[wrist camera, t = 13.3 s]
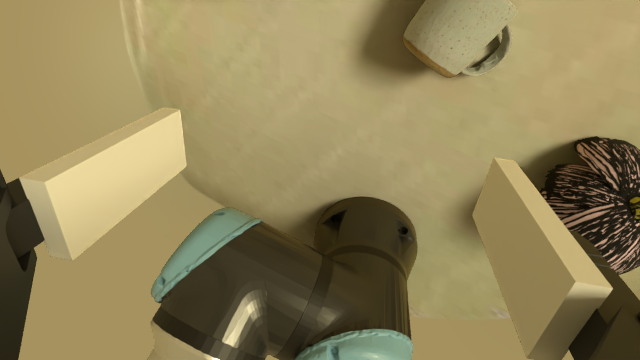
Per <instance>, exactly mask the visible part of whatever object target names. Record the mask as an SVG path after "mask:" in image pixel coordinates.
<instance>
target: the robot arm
mask: <svg viewBox="0 0 640 360" xmlns="http://www.w3.org/2000/svg"><path fill="white" fill-rule="evenodd" d="M186 166H187V165H186V157H185V148H184V139H183V131H182V122H181V113H180V110H179V109H172V108H166V107H163V108H161V109H159V110H157V111H155V112H153V113H151V114H149V115H147V116H145V117H142V118H140V119H138V120H136V121H134V122H132V123H130V124H128V125H126V126H124V127H122V128H120V129H118V130H116V131H114V132H112V133H110V134H108V135H105V136H103V137H101V138H99V139H97V140H95V141H93V142H91V143H89V144H87V145H85V146H83V147H81V148H79V149H77V150H75V151H72V152H71V153H68V154H66V155H64V156H62V157H60V158H58V159H56V160H54V161H52V162H50V163H48V164H46V165H44V166H42V167H39V168H37V169H35V170H33V171H32V172H29V173H27V174H25V175H23V176H21V177H19V178H18V179H16V180H14V181H12V182H10V183H7V184H6V182H5V179H4V177H3V175H2V172H1V170H0V360H18V357H19V352H20V347H21V342H22V336H23V331H24V325H25V320H26V314H27V309H28V304H29V298H30V293H31V288H32V282H33V277H34V272H35V266H36V261H37V257H36V253H35V250H34V247H35V246H37V245H38V244H40V243H41V242H43V241H44V242H45V244H46V247H47V249H48V252H49V255H50V256H52V257H57V258H61V259H66V260H71V261H73V260H74V259H75V258H77V257H78V256H79V255H80V254H82V252H84V251H85V250H86V249H88V248H89V247H90V246H91V245H92V244H94V243H95V242H96V241H97V240H98V239H100V238H101V237H102V236H103V235H104V234H106V233H107V232H108V231H109V230H110V229H112V228H113V227H114V226H115V225H116V224H117V223H119V222H120V221H121V220H122V219H124V218H125V217H126V216H127V215H128V214H130V213H131V212H132V211H133V210H134V209H136V208H137V207H138V206H139V205H140V204H141V203H143V202H144V201H145V200H147V199H148V198H149V197H150V196H151V195H152V194H154V193H155V192H156V191H157V190H158V189H160V188H161V187H162V186H163V185H165V184H166V183H167V182H168V181H169V180H170V179H172V178H173V177H174V176H175V175H176V174H178V173H179V172H180V171H181V170H183V169H184V168H185V167H186ZM472 216H473V219H474V222H475V224H476V227H477V230H478V232H479V235H480V237H481V240H482V243H483V245H484V248H485V250H486V253H487V256H488V258H489V261H490V264H491V266H492V269H493V271H494V274H495V277H496V279H497V282H498V284H499V287H500V290H501V292H502V295H503V298H504V300H505V303H506V305H507V308H508V311H509V313H510V316H511V318H512V321H513V324H514V326H515V329H516V332H517V334H518V337H519V339H520V342H521V345H522V347H523V350H524V352H525V355H526V357H527V358H529V359H534V360H562V358H563V357H564V355H565V354H566V353H567V351H568V350H569V351H570V352H571V354H572V356H573V358H574V360H640V300H639V299H638V298H637V297H636V296H635V294H634V293H633V292H632V291H631V290H630V288H629V287H628V286H627V285H626V284H625V282H624V281H623V280H622V279H621V278H620V276H619V275H618V274H617V273H616V271H615V270H614V269H611V265H610V264H609V263H608V262H607V261H606V259H605V258H602V257H603V256H602V255H601V253H600V252H599V251H598V250H597V249H596V247H595V246H594V245H593V244H592V243H591V242H590V241H588V240H587V239H586V238H584V237H583V236H581V235H580V234H579V233H577V232H575V231H569V230H568V229H567V228H566V227H565V225H564V224H563V223H562V221H561V220H560V219H559V218H558V216H557V215H556V214H555V212H554V211H553V210H552V209H551V207H550V206H549V205H548V203H547V202H546V201H545V199H544V198H543V197H542V196H541V194H540V193H539V192H538V190H537V189H536V188H535V187H534V185H533V184H532V183H531V181H530V180H529V179H528V177H527V176H526V175H525V174H524V172H523V171H522V170H521V168H520V167H519V166H518V164H517V163H516V162H515V161H514V160H507V159H501V158H494V159H493V162H492V164H491V167H490V169H489V172H488V175H487V177H486V180H485V182H484V185H483V188H482V190H481V193H480V196H479V198H478V201H477V203H476V206H475V209H474V211H473V214H472ZM416 256H417V238H416V232H415V229H414V226H413V224H412V223H411V221H410V219H409V218H408V217H407V216H406V215H405V214H404V213H403V212H402V211H401V210H400V209H399V208H397V207H396V206H394V205H392V204H390V203H388V202H386V201H383V200H380V199H376V198H369V197H356V198H350V199H346V200H343V201H340V202H338V203H336V204H334V205H333V206H331V207H330V208H329V209H328V210H327V211H326V212H325V213H324V214H323V215H322V217H321V218H320V220H319V223H318V225H317V229H316V232H315V236H314V249H313V248H311V247H309V246H307V245H305V244H303V243H302V242H300V241H298V240H296V239H294V238H292V237H290V236H288V235H286V234H285V233H283V232H281V231H279V230H277V229H275V228H273V227H271V226H269V225H268V224H266V223H264V220H262V219H260V218H258V219H256V218H254V217H252V216H249V215H247V214H245V213H243V212H241V211H239V210H236V209H234V208H222V209H219V210H217V211H215V212H213V213H212V214H210V215H209V216H208V217H207V218H205V219H204V220H203V221H202V222H201V223H200V224H199V225H198V226H197V227H196V228H195V229H194V230H193V231H192V232H191V233H190V234H189V235H188V236H187V238H186V239H185V240H184V241H183V242H182V243H181V245H180V246H179V247H178V248H177V249H176V251H175V252H174V253H173V255H172V256H171V257H170V259H169V260H168V261H167V263H166V264H165V266H164V267H163V269H162V271H161V274H160V275H159V276H158V278H157V279H156V280H155V282H154V284H153V286H152V289H151V295H152V297H153V298H154V299H155V301H156V302H157V303H161V306H160V308H159V309H158V311H157V313H156V314H155V316H154V317H153V319H152V321H151V328H152V332H153V337H154V349H153V350H152V352H151V354H150V355H149V357H148V359H147V360H265V358H266V357H267V355H271V356H273V357H275V358H277V359H279V360H412V353H413V345H412V342H411V330H410V319H409V305H408V291H407V279H408V277H409V274H410V272H411V270H412V267H413V265H414V262H415V260H416Z"/></svg>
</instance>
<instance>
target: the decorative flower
mask: <svg viewBox="0 0 640 360" xmlns="http://www.w3.org/2000/svg"><path fill="white" fill-rule="evenodd" d="M574 148H575V150H576V151H577V153H578V155H579V156H580V158H582V159H583V160H584V161H585V162H586V163H587V164H588V166H584V165H573V164H562V165H556V166H555V169H552V170H550V171H548V172H550V173H549V174H548V175H547V176H545V177H548V178H547V180H546V182H545V188H542V189H541V191H540V192H539V193H540V194H541V196H542V197H543V198H544V199H545V201H546V202H547V203H548V205H549V206H550V207H551V209H552V210H553V211H554V212H555V214H556V215H557V216H558V218H559V219H560V220H561V221H562V223H563V224H564V225H565V227H566V228H567V229H568V230H569V231H575V232H577V233H579V234H580V235H581V236H583V237H584V238H586V239H587V240H588V241H590V242H591V243H592V244H593V245H594V246H595V247H596V249H597V250H598V251H599V252H600V253H601V255H602V256H603V257H602V258H605V259H606V261H607V262H608V263H609V264H610V265H611V269H614V270H615V271H616V273H617V274H618V275H620V274H624V273H626V272H629V271H631V270H633V269H635V268H637V267H639V266H640V150H639V149H638V148H637V147H635V146H634V145H632V144H630V143H629V142H626V141H624V140H623V141H622V140H617V139H616V140H615V139H614V140H610V139H609V138H599V137H597V136H596V137H590V138H585V139H582V140H578V142H575V144H574Z"/></svg>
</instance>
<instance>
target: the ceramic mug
mask: <svg viewBox="0 0 640 360" xmlns="http://www.w3.org/2000/svg"><path fill="white" fill-rule="evenodd" d="M516 14H517V9H516V8H515V6H514V5H513V4H512V3H511V2H510V1H509V0H425V2H424V3H423V5H422V6H421V7H420V9H419V10H418V12H417V13H416V15H415V16H414V17H413V19H412V20H411V22H410V23H409V25H408V27H407V29H406V31H405V32H404V35H403V43H404V45H405V46H406V48H407V49H408V50H409V51H410V52H411V53H412V54H414V55H415V56H416V57H417V58H418V59H419V60H421V61H422V62H423V63H424V64H426V65H427V66H428V67H430V68H431V69H433V70H434V71H436V72H437V73H439V74H440V75H442V76H444V77H446V78H451V77H454V76H456V75H457V74H459V73H460V72H462V73H463V74H466V75H468V76H480V75H483V74H486V73H488V72H489V71H491V70H492V69H494V68H495V67H496V66H498V65H499V64H500V63H501V62H502V61H503V60H504V58H505V57H506V56H507V54H508V52H509V50H510V48H511V44H512V32H511V29H510V26H509V24H508V23H509V22H510V21H511V20H512V19H513V18H514V17H515V15H516ZM501 30H502V33H503V34H502V41H501V44H500V45H499V47H498V49H497V50H496V51H495V52H494V53H493V54H492V55H491V56H490V57H489V58H487V59H486V60H485V61H484V62H482V63H481V64H480V65H479V66H477V67H473V68H466V67H467V66H468V65H469V64H470V63H471V62H472V61H473V60H474V59H475V57H476V56H477V55H478V54H479V53H480V52H481V51H482V50H483V49H484V48H485V47H486V46H487V45H488V44H489V43H490V42H491V41H492V40H493V39H494V38H495V37H496V36H497V34H498V33H499V32H500V31H501Z"/></svg>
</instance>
